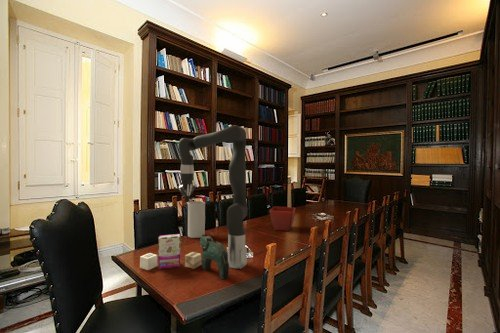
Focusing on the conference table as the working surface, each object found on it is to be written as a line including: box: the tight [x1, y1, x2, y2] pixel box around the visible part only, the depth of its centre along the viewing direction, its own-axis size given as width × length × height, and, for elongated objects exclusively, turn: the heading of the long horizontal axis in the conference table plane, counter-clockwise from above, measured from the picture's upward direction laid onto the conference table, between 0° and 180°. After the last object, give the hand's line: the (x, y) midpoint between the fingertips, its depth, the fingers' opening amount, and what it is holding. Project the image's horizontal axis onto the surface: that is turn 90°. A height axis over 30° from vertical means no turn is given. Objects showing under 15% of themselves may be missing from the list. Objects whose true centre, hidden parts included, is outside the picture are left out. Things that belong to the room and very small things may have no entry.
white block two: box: [139, 252, 158, 271], centre depth 131 cm, size 6×6×6 cm
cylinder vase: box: [187, 200, 206, 239], centre depth 186 cm, size 12×12×25 cm
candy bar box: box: [157, 233, 182, 270], centre depth 132 cm, size 11×5×16 cm, turn 106°
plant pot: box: [269, 206, 296, 232], centre depth 208 cm, size 19×19×17 cm
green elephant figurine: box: [199, 232, 230, 280], centre depth 125 cm, size 20×6×20 cm, turn 45°
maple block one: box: [184, 251, 202, 269], centre depth 133 cm, size 6×6×6 cm
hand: (186, 202), depth 145 cm, fingers closed
